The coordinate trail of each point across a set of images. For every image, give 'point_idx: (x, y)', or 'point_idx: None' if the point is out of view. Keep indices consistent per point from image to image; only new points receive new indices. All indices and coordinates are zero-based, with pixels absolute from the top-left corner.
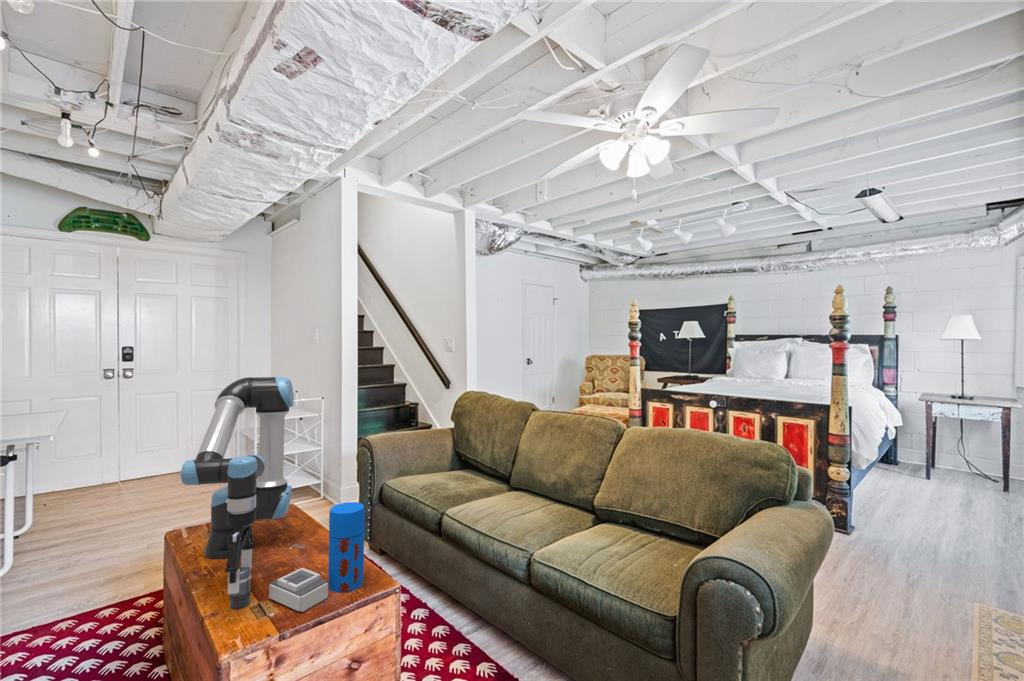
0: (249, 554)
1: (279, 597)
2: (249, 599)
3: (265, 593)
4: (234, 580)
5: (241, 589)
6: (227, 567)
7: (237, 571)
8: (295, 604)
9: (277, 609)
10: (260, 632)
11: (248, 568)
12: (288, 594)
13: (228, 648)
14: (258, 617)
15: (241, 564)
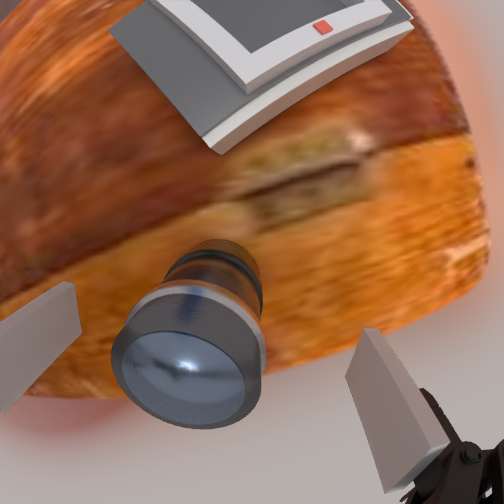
0: (3, 348)
1: (293, 99)
2: (225, 245)
3: (155, 180)
4: (433, 403)
5: (258, 311)
6: (481, 501)
7: (440, 440)
8: (382, 49)
9: (329, 117)
10: (452, 187)
11: (149, 334)
12: (360, 53)
13: (474, 273)
14: (364, 193)
15: (57, 356)
